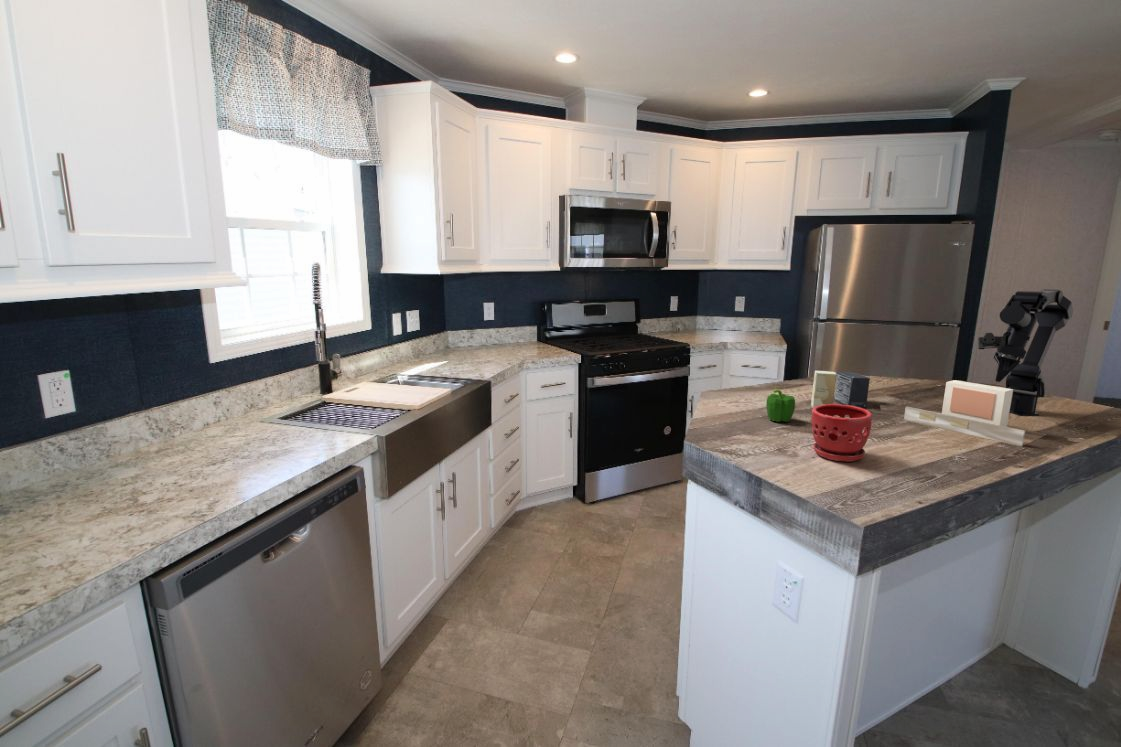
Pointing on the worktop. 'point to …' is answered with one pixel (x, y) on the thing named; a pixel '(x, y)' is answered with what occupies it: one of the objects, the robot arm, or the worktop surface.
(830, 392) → the skincare box
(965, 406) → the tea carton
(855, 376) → the small box
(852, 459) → the plant pot
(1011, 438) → the shelf board
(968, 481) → the worktop surface
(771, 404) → the bell pepper
